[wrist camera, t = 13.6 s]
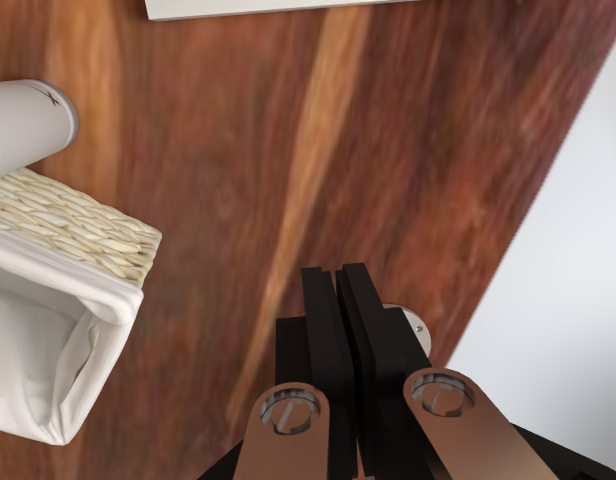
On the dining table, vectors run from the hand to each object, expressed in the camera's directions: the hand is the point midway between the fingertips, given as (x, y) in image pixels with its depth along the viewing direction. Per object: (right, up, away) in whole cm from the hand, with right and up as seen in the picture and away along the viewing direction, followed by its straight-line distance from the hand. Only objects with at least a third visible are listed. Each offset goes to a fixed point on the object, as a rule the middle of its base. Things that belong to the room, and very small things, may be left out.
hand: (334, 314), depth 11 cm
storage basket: (-28, +2, +30) cm, 41 cm away
